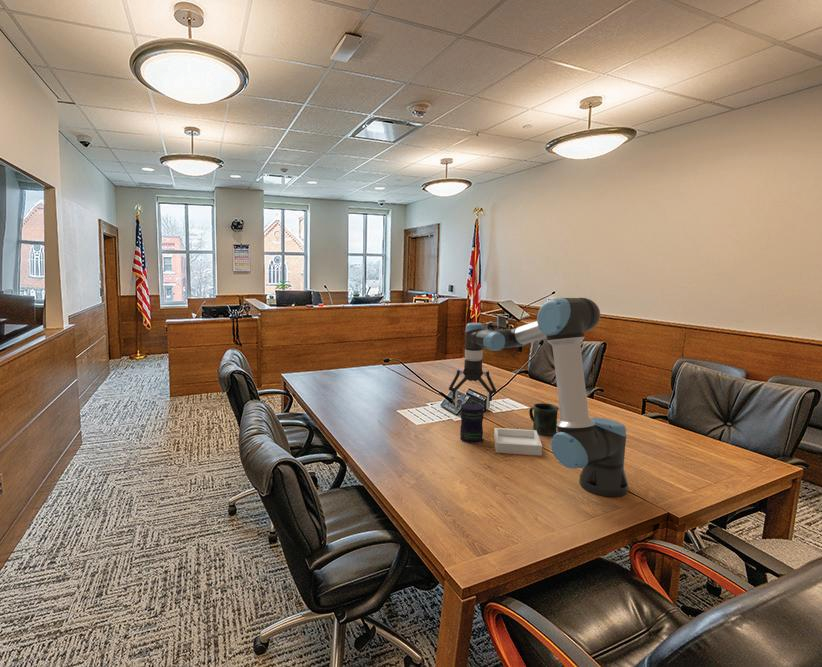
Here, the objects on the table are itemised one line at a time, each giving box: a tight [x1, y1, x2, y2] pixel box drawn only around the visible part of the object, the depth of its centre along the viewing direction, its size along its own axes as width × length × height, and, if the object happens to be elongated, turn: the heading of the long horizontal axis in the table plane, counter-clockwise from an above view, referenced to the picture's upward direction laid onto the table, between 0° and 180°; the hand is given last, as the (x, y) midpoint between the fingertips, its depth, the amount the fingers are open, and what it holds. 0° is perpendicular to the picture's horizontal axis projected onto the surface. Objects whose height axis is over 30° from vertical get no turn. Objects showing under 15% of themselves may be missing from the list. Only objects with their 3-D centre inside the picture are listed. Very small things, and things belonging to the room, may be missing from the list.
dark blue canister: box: [459, 402, 484, 444], centre depth 189 cm, size 10×10×15 cm
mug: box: [528, 402, 560, 436], centre depth 200 cm, size 11×15×12 cm
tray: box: [493, 427, 543, 456], centre depth 183 cm, size 18×18×4 cm
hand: (471, 407), depth 188 cm, fingers open, 13 cm apart
